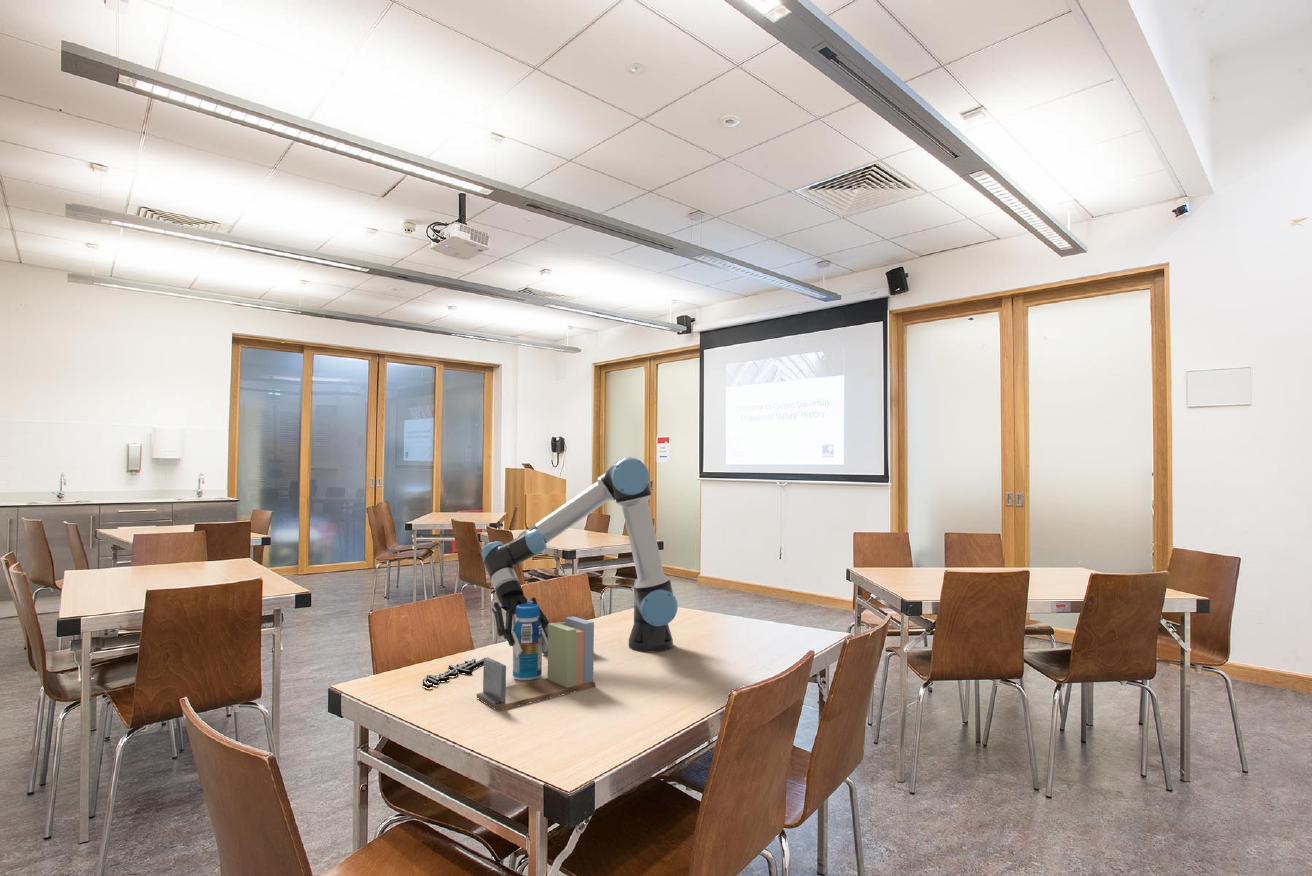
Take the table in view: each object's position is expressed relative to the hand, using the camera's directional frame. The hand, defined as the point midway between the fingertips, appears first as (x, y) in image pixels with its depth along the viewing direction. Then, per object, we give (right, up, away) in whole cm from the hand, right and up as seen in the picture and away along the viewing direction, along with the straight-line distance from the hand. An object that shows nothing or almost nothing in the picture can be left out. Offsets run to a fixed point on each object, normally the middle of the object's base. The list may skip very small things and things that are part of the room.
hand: (533, 651), depth 181 cm
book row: (+11, -7, -4) cm, 13 cm away
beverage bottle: (-2, -8, +2) cm, 9 cm away
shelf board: (+3, -7, -11) cm, 13 cm away
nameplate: (-24, -9, +5) cm, 26 cm away
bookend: (-7, -6, -19) cm, 21 cm away
